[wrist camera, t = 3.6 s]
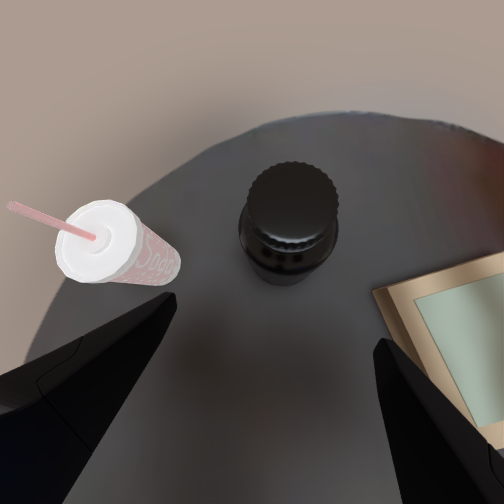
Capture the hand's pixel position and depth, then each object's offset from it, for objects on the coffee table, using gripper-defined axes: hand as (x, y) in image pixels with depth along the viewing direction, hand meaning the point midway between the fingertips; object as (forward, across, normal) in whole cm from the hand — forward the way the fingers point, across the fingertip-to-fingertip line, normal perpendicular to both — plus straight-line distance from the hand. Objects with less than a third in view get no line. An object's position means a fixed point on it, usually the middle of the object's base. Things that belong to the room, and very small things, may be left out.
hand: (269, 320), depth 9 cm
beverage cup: (+11, +13, +7) cm, 18 cm away
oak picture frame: (+10, -17, +8) cm, 21 cm away
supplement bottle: (+13, 0, +4) cm, 14 cm away
